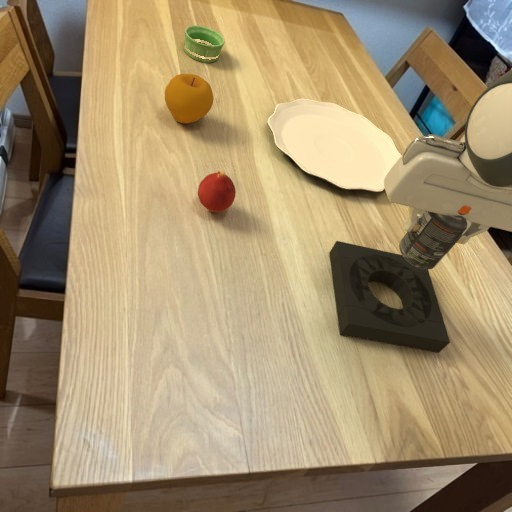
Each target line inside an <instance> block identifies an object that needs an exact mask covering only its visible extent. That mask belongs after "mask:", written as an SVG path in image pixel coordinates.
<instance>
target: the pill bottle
mask: <svg viewBox="0 0 512 512" xmlns="http://www.w3.org/2000/svg"><path fill="white" fill-rule="evenodd" d="M471 209H472V207H469V206H462V207H461V209H460V210H458V211H457V212H458V213H459V214H460V215H466V214H469V211H470V210H471ZM418 216H419V217H420V222H421V224H422V227H421V228H420V229H419V230H418V232H417V233H411V232H407V231H406V233H405V234H404V236H403V237H402V238H401V240H400V241H399V244H398V248H399V252H400V255H403V257H404V258H405V259H406V260H407V261H408V262H409V263H410V264H412V265H414V266H415V267H418V268H421V269H427V270H428V271H429V270H432V269H434V268H436V267H438V265H439V264H440V263H441V261H442V260H443V259H444V258H445V256H447V254H448V253H449V252H450V251H451V249H452V248H453V247H455V245H456V244H457V243H456V242H457V241H458V240H459V239H460V238H461V237H462V235H463V234H464V233H465V232H466V231H467V229H468V228H469V227H470V226H471V223H472V222H470V221H468V220H467V219H465V218H464V217H462V216H459V215H456V216H449V215H441V214H437V213H433V212H429V211H424V213H423V214H422V215H419V214H418Z"/></svg>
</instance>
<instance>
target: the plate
mask: <svg viewBox="0 0 512 512" xmlns="http://www.w3.org/2000/svg"><path fill="white" fill-rule="evenodd" d="M266 121H267V126H268V127H269V130H270V131H271V132H272V136H273V141H274V142H273V143H274V146H276V148H277V149H278V150H280V152H282V153H283V154H285V155H286V156H287V157H288V158H290V159H291V160H292V161H293V162H294V164H296V166H297V167H298V168H299V169H300V170H301V171H303V172H305V173H306V174H308V175H310V176H313V177H316V178H317V179H319V180H321V181H323V182H326V183H329V184H331V185H333V186H335V187H337V188H339V189H342V190H345V191H347V190H349V191H350V190H361V191H366V192H373V193H382V192H383V191H385V187H384V179H385V177H386V175H387V174H388V172H389V171H390V169H391V168H392V167H393V165H394V164H395V163H396V162H397V161H398V159H399V158H400V157H401V156H402V155H403V154H401V153H400V151H399V150H398V148H397V147H396V144H395V143H394V140H393V139H392V138H391V136H390V135H389V134H387V133H386V132H384V131H383V130H382V129H380V128H379V127H378V126H376V125H375V124H374V123H373V122H372V121H371V120H370V119H369V118H367V117H365V116H364V115H362V114H359V113H357V112H353V111H351V110H349V109H347V108H345V107H342V106H341V105H339V104H337V103H334V102H330V101H318V100H314V99H309V98H304V97H303V98H299V97H298V98H297V99H295V100H292V101H288V102H279V103H277V104H276V105H275V109H274V112H273V113H272V114H271V115H270V116H269V117H268V118H267V120H266Z"/></svg>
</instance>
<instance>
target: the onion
mask: <svg viewBox="0 0 512 512" xmlns="http://www.w3.org/2000/svg"><path fill="white" fill-rule="evenodd" d="M236 191H237V190H236V186H235V184H234V182H233V180H232V179H231V178H230V177H229V176H228V175H227V174H226V173H225V172H224V171H223V170H217V172H213V173H210V174H207V175H205V177H204V178H203V179H202V180H201V181H200V183H199V184H198V189H197V197H198V200H199V202H200V204H201V206H203V208H205V209H206V210H208V212H212V213H221V212H224V211H226V210H227V209H229V208H230V207H231V206H232V205H233V203H234V202H235V199H236V193H237V192H236Z"/></svg>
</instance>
